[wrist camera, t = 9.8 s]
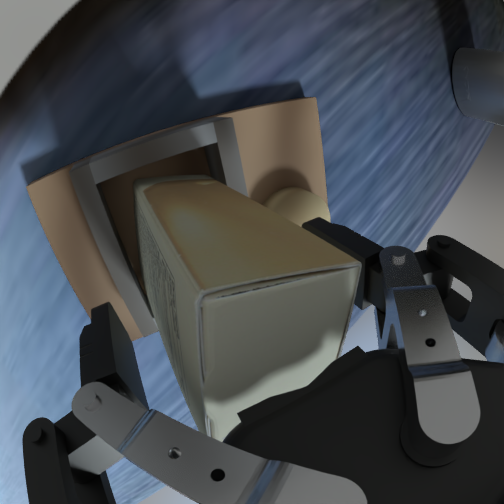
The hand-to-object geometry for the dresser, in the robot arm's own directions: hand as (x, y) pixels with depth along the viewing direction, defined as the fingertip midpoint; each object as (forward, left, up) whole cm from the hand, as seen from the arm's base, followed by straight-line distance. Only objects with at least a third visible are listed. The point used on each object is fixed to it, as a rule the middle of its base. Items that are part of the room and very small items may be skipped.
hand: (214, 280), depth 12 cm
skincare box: (0, 0, -7) cm, 7 cm away
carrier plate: (-2, +1, -8) cm, 9 cm away
